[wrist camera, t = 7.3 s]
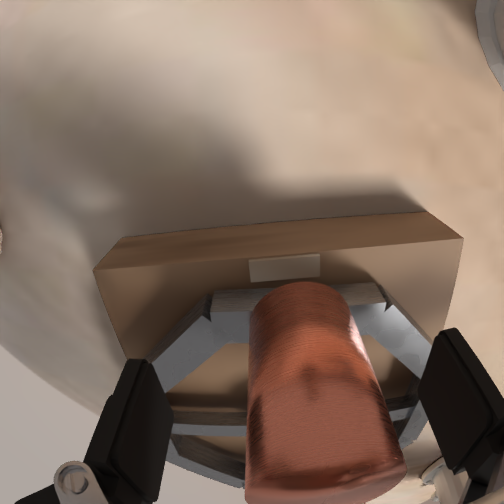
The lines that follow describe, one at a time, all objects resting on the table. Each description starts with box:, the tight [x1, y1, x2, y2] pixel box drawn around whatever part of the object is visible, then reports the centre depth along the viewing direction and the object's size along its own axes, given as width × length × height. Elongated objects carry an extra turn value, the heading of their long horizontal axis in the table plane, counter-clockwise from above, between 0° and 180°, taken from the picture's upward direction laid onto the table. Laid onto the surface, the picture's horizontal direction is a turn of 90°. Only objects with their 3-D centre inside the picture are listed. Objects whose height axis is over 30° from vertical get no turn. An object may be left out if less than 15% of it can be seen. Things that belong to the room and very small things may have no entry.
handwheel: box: [143, 281, 433, 504], centre depth 13 cm, size 19×18×9 cm
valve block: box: [93, 212, 464, 470], centre depth 19 cm, size 20×18×4 cm
